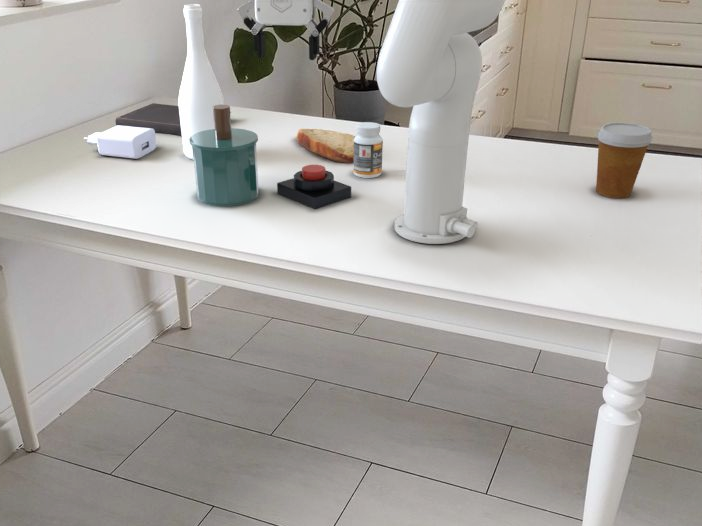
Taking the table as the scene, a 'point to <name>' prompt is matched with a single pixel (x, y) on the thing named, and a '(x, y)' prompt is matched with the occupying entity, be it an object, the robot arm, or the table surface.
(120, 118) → the hardcover book
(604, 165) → the disposable coffee cup
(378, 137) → the pill bottle
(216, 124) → the lid
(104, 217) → the table surface
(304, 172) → the release button
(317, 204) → the button housing
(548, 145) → the table surface
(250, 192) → the canister
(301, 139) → the bread slice
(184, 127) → the wine bottle
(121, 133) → the charger
